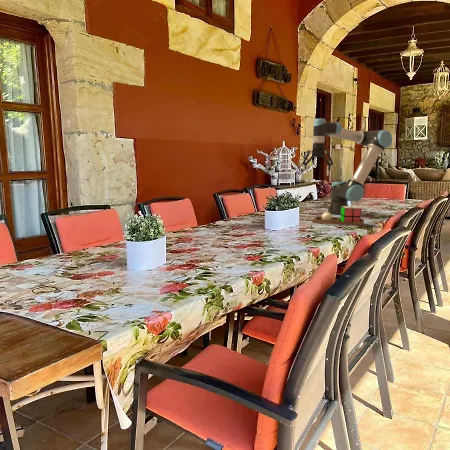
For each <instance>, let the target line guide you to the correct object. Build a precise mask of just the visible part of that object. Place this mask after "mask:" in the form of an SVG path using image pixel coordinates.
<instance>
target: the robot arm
mask: <svg viewBox="0 0 450 450" xmlns="http://www.w3.org/2000/svg"><path fill="white" fill-rule="evenodd" d="M312 132H313V133H312V150H309V149H308V150H307V153H306V155H305V157H304V159H303V160H302V163H301V165H304V170H305V175H306V176H308V175H309V165H308V164H309V163H310V162H311V161H312V159H314V158H322V159H323V161H324V162H325V163H326V164H327V165H326V177H327V176H329V173H330V172H329V171H331V166H332V165H334V164H335V163H334V162H333V159H332V157H331V155H330V150H325V141H326V139H325V138H326V137H330V138H331V137H332V138H335V139H339V140H344V141H350V142H354V143H355V144H357V145H360V146H364V147H367V150H366V151H365V153H364V155H363V157H362V159H361V161H360V162H359V165H357V168H356V169H355V172H354V174H353V176H352V177H351V178H348V180H347V181H334V182H332V183H331V187H330V188H331V192H330V193H331V194H330V203H329V206H328V209H327V212H328V213H330V214H331V215H339V216H341V206H349V204H348V202H352V203H353V202H355V203H356V202H358V201H360V200H362V198H363V197H364V194H365V189H364V188H365V182H366V180H367V178H368V176H369V175H370V172H371V171H372V169H373V167H374V165H375V162H376V161H377V159H378V157H380V154H382V153H384V151H385V150H386V148H389V147H390V146H391V145H392V143H393V136H392V134H391V132H390V131H388V130H384V129H380V130H368V131H367V130H366V131H365V130H353V129H349V128H345V127H343V125H342V123H341V122H338V121H337V122H334V121H333V122H331V121H329V122H327V120H326V119H325V118H314V119H313V131H312ZM311 154H312V155H311ZM324 154H326V155H327V157H325V155H324ZM310 155H311V157H309V156H310Z"/></svg>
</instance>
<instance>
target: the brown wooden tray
mask: <svg viewBox="0 0 450 450" xmlns="http://www.w3.org/2000/svg"><path fill="white" fill-rule="evenodd" d="M340 219H341V217H335V216H332V219H331V220H323V219H322V215H321V216H319V215H316V216H315V217H313V219H312V224H323V225H324V224H325V225H339V226H352V227H353V226H355V227H358V228H360V229H362V228H363V227H364V225H363V224H365V219H364V218H361V223H360V222H345V221H340Z"/></svg>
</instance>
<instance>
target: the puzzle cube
mask: <svg viewBox="0 0 450 450" xmlns="http://www.w3.org/2000/svg"><path fill="white" fill-rule="evenodd" d="M340 218H341V219H340V221H345V222H360V223H361V219H362V208H361V207H359V206H357V205H353V206H351V205H350V206H349V205H348V206H341V215H340Z"/></svg>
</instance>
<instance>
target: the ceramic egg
mask: <svg viewBox="0 0 450 450" xmlns="http://www.w3.org/2000/svg"><path fill="white" fill-rule="evenodd" d="M321 216H322V219H323V220H331V219H332V217H333V216H332V214H330V213H328V211H327V212H326V211H325V212H324V213H322V215H321Z"/></svg>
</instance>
